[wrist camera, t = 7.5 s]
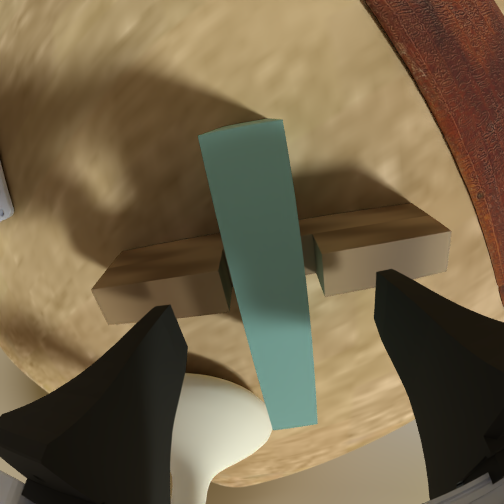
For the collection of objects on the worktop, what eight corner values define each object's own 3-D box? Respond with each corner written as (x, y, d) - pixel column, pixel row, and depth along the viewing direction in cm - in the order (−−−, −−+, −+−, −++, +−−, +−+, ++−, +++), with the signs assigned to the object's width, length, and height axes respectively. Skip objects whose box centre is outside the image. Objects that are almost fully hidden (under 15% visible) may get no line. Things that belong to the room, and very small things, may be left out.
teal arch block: (299, 327, 18) (317, 423, 12) (267, 332, 18) (272, 430, 12) (267, 118, 13) (282, 119, 6) (224, 126, 13) (197, 135, 7)
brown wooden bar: (133, 282, 17) (108, 324, 13) (121, 251, 16) (91, 289, 12) (410, 237, 15) (446, 271, 12) (411, 203, 14) (451, 231, 11)
